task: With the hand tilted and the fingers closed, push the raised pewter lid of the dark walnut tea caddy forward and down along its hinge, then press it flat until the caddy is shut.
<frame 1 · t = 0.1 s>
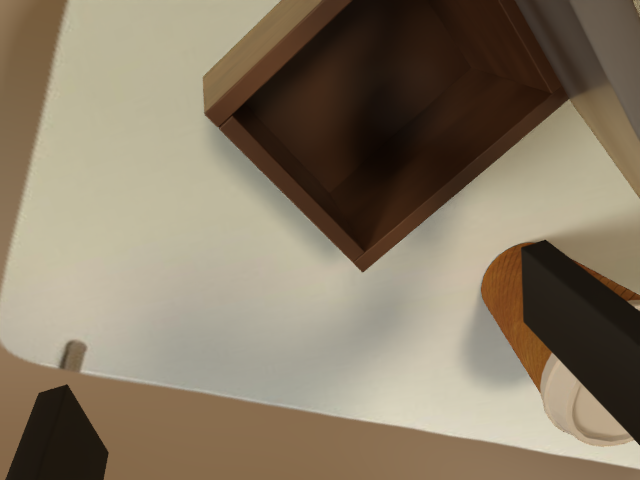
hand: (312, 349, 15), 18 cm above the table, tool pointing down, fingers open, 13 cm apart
disposable coffee cup: (518, 278, 40), on the table
lid: (580, 60, 16), point 16 cm above the table, hinge at 70.0°
caddy: (349, 71, 30), on the table
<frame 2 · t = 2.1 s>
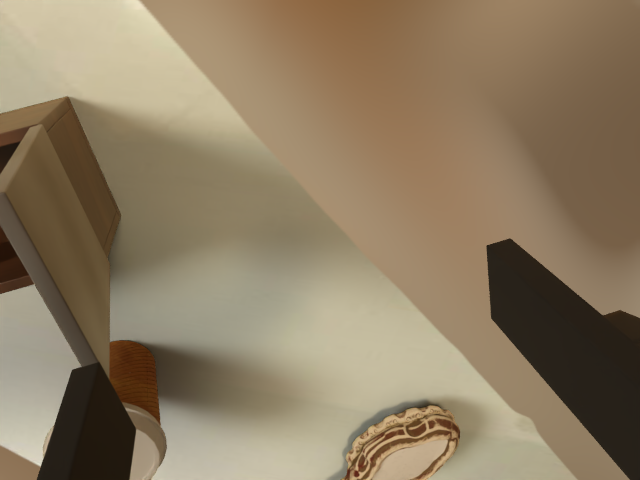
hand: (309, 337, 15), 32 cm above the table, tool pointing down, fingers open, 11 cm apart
disposable coffee cup: (122, 364, 53), on the table
hand mirror: (346, 466, 66), on the table
lid: (65, 241, 29), point 16 cm above the table, hinge at 98.3°
caddy: (19, 179, 43), on the table
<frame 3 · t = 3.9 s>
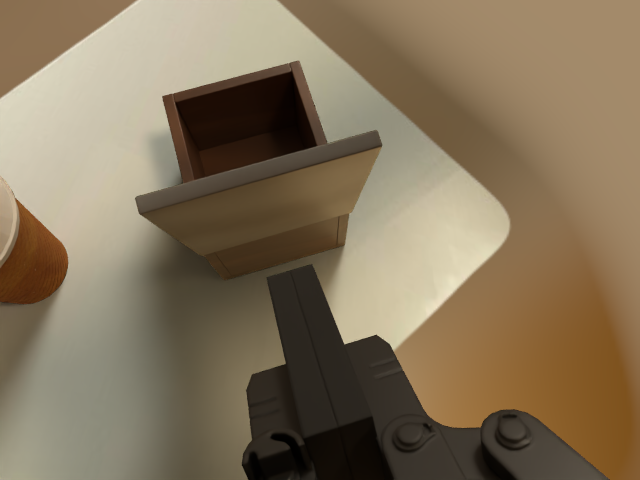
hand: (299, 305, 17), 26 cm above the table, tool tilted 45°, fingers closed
disposable coffee cup: (32, 267, 44), on the table
lid: (269, 206, 29), point 16 cm above the table, hinge at 98.3°
caddy: (265, 196, 46), on the table
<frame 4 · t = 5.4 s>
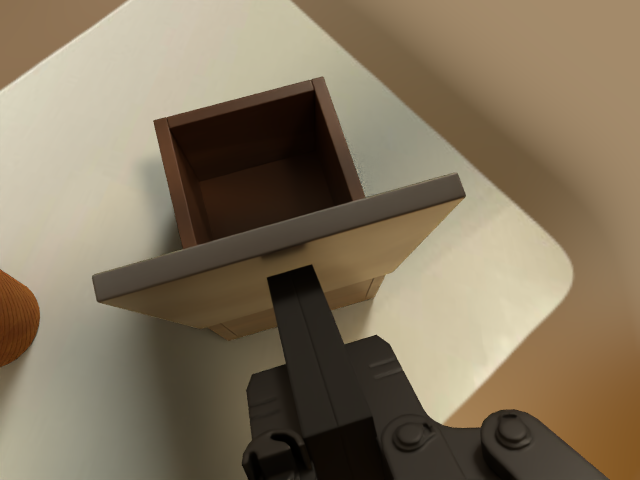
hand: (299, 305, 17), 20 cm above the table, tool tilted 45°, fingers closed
lid: (291, 273, 21), point 16 cm above the table, hinge at 94.6°
caddy: (278, 236, 38), on the table
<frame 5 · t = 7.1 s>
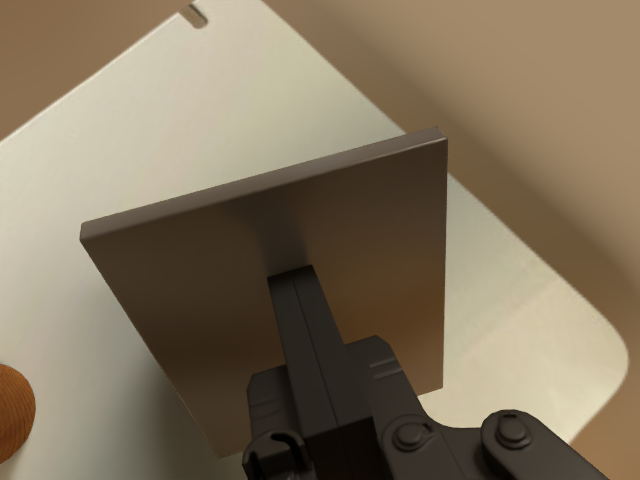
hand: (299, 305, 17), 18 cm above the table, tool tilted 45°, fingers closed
lid: (306, 325, 19), point 15 cm above the table, hinge at 59.3°, touching gripper
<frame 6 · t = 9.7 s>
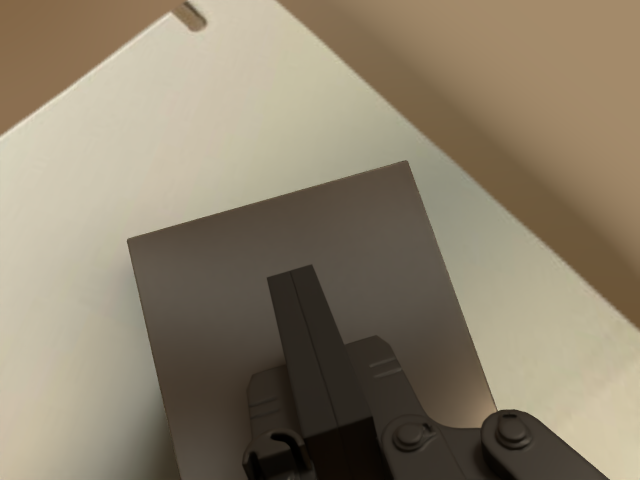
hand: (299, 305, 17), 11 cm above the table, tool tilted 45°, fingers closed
lid: (323, 381, 18), point 10 cm above the table, hinge at 4.0°, touching gripper
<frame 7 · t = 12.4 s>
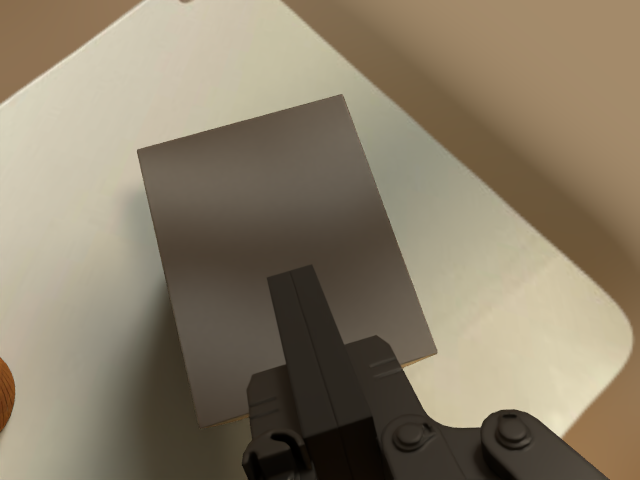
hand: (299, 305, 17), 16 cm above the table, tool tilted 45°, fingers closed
lid: (278, 247, 25), point 9 cm above the table, hinge at -0.2°, touching caddy
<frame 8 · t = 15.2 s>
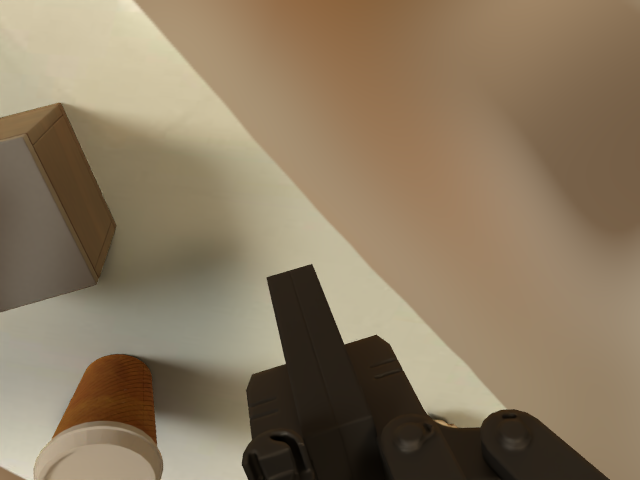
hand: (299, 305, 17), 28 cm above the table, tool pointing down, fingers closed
disposable coffee cup: (118, 378, 51), on the table
caddy: (10, 189, 41), on the table
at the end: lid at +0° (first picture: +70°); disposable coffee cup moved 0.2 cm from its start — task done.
